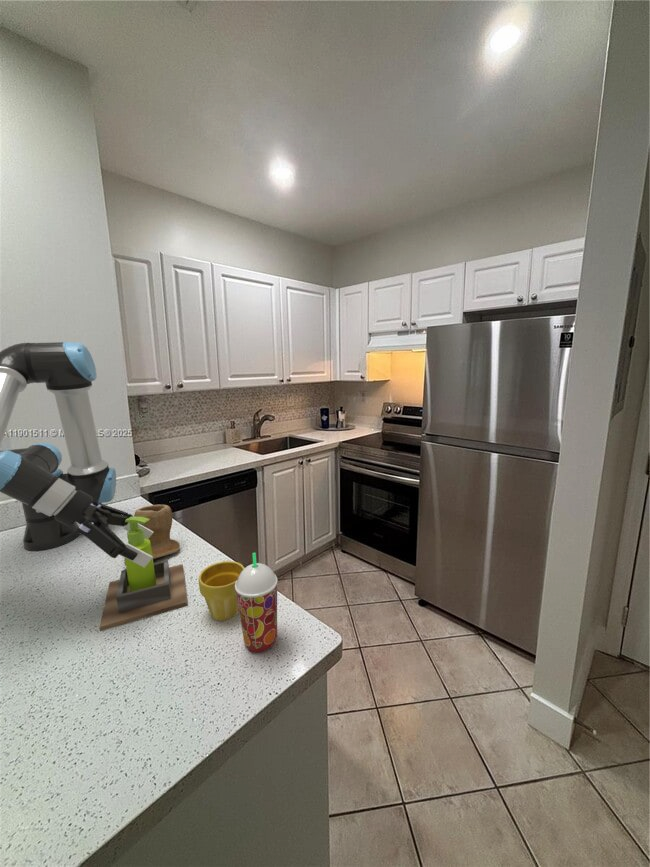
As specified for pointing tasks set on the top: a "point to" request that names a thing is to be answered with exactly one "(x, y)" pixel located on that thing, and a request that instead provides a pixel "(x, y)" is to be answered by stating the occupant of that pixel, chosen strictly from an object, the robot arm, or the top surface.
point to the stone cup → (159, 529)
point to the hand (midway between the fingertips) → (149, 548)
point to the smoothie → (257, 605)
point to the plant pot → (220, 588)
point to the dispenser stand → (144, 596)
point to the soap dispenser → (135, 572)
